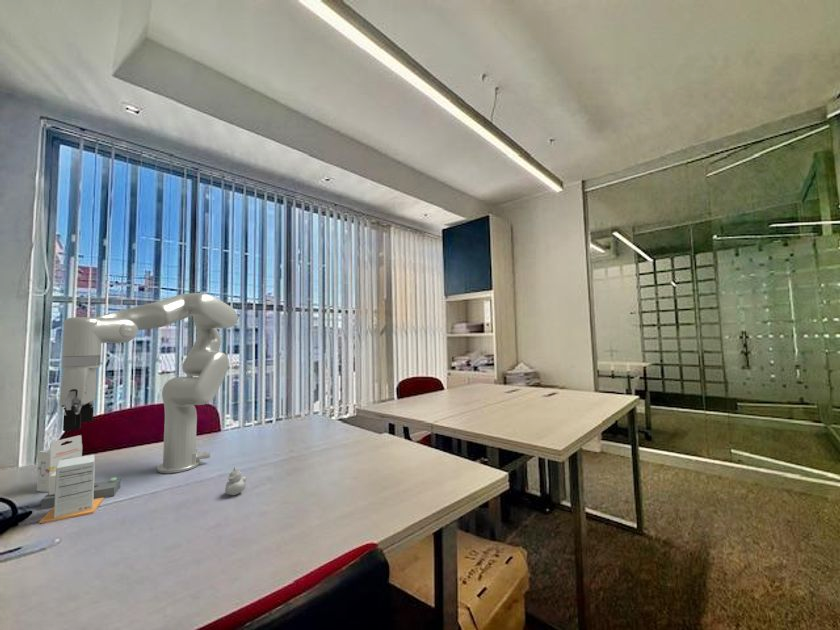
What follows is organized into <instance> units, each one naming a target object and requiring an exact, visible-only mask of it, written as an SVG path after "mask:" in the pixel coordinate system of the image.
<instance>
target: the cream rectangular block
mask: <svg viewBox="0 0 840 630" xmlns="http://www.w3.org/2000/svg"><path fill="white" fill-rule="evenodd" d="M55 482H56V472H55V473H54V474H52V475H51V476H50V488H49V492H48V493H49V495H52V494H55Z"/></svg>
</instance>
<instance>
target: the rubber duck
mask: <svg viewBox="0 0 840 630" xmlns="http://www.w3.org/2000/svg"><path fill="white" fill-rule="evenodd" d="M227 478H228V481H227V483H226V484H225V488H224V489H225V490H224V491H225V494H227V495H229V496H236V495H238V494H240V493H242V492H243V491H244V490H245V488H246V482H247V477H246V476H244V475H243V476H242V472H241V471H240V470H239V469H236V467H235V466H233V469H232V470H231V472H230V473H229V475H228V477H227Z"/></svg>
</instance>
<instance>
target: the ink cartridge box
mask: <svg viewBox="0 0 840 630" xmlns="http://www.w3.org/2000/svg"><path fill="white" fill-rule="evenodd" d="M82 438H83V436H82V434H80V435H79V434H78V435H75V436H71V437H66V438H62V439H59V440H58V439H57V440H55V441H54V440H53V441H51V442H50V446H49V447H50V448H49V449H45V450H40V451H38V456H37V458H38V459H37V460H38V461H37V478H36V479H37V482H36V483H37V484H36V485H37V486H36V487H37V488H36V492H42V493H43V492H44V493H49V488H50V476H51V475H52V474H54V473H55V472H56V467H57V463H58V461H60V460H65V459H71V458H76V457H82V456H83V443H82V442H83V439H82ZM66 442H69V443H66ZM65 443H66V444H65ZM62 444H63V445H62Z"/></svg>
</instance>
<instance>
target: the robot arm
mask: <svg viewBox="0 0 840 630" xmlns="http://www.w3.org/2000/svg"><path fill="white" fill-rule="evenodd" d="M191 317H193V318H192V319H193V324H194V325H195V328H196V332H197V333H196V334H197V337H196V339H195V342H194V344H193V345H192V347H191V349H190V351H189V352H188V354H187V355H186V357H185V359H183V362H182V363H183V364H182V366H181V368H182V371H183V372H184V374H185V375H188V376H177V377H173V378H171V379H169V380H167V381H166V382H165V384H164V385H163V387H162V390H161V391H162V392H161V397H162V401H163V402H162V403H163V406H164V409H163V410H164V425H163V426H164V427H163V428H164V429H163V431H164V432H163V451H162V452H163V456H162V457H163V458H162V463H160V464H159V465H158V466H157V467H156V471H157V473H160V474H175V473H181V472H185V471H189V470H191V469H194V468H196V467H198V466H199V465H201V460H202V459H210V458H211V452H209V451H208V452H207V451H203V452H202V451H201V452H199V451H198V448H196V447H197V425H198V423H197V422H198V414H197V413H198V412H197V408H196V406H202V405H203V406H204V405H207V404H208V403H211V401H212V400H213V399H214V398H215V396H216V395H217V392H218V391H219V389H220V387H221V386H222V385H221V384H222V383H223V381H224V379H225V377H226V375H227V373H228V371H229V365H230V364H229V363H230V362H229V361H230V360H229V358H228V355H227V354H226V353H224V352H222V351H219V349H220V348H221V346H222V345H221V344H222V340H221V336H220V333H219V331H218V329H229V328H233V327H234V326H235V325H236V323H237V322H238V319H239V318H238V313H237V311H236V310H235V309H234V307H233V306H230V305H229V304H227V303H225V302H224V301H222V300H221V299H219V298H217V297H215V296H214V295H211V294H209V293H207V292H189V293H188V292H187V293H181V294H178V295H174V296H171V297H168V298H165V299H162V300H157V301H154V302H151V303H147V304H142V305H138V306H134V307H130V308H125V309H121V310H117V311H112V312H110V313H107V314H103V315H99V316H96V317H82V316H79V317H78V316H75V317H74V316H73V317H68V318H66V319H65V320H64V322H63V337H62V338H63V339H62V357H61V359H62V360H61V369H62V370H63V374H62V379H61V384H60V385H61V386H60V395H59V403H58V404H59V407H61V408H63V410H64V411H63V421H62V424H63V425H62V431H63V432H71V431H79V430H80V429H81V427H82V426H81V425H82V423H89V422H93V421H94V405H95V403H94V400H95V399H96V392H97V370H96V369H97V368H100V367H101V361H102V360H101V359H102V358H101V357H102V344H123V343H124V344H125V343H128V342H130V341H132V340H134V339H135V338H136V337H137V335H138V333H139V331H142V330H145V331H146V330H154V329H159V328H163V327H166V326H169V325H171V324H174V323H176V322H179V321H182V320H185V319H188V318H191ZM195 405H196V406H195Z"/></svg>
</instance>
